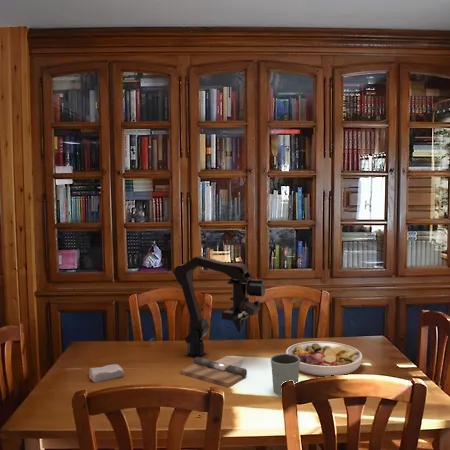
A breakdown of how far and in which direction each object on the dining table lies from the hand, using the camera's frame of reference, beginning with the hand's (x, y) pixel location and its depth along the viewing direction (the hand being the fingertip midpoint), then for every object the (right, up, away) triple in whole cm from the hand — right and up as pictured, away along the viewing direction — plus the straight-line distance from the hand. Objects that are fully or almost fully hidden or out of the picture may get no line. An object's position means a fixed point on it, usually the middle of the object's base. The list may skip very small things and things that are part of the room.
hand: (239, 332), depth 209 cm
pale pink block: (-6, -13, -8) cm, 16 cm away
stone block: (-52, -14, -14) cm, 56 cm away
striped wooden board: (-11, -13, -16) cm, 23 cm away
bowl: (+34, -13, -4) cm, 36 cm away
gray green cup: (+15, -15, -31) cm, 37 cm away
